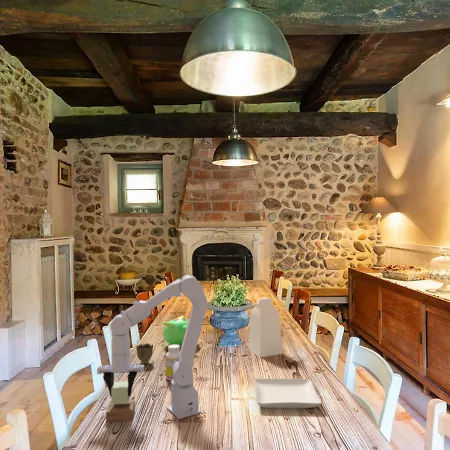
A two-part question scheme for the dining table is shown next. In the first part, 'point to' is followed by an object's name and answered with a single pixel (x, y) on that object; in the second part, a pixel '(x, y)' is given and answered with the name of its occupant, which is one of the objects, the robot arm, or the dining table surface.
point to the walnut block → (120, 412)
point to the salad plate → (286, 393)
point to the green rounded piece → (175, 331)
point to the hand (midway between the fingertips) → (120, 395)
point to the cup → (144, 352)
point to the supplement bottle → (171, 360)
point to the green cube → (119, 393)
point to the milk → (265, 329)
